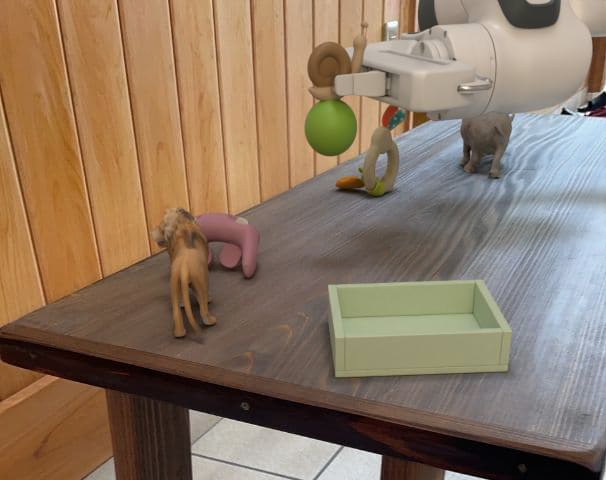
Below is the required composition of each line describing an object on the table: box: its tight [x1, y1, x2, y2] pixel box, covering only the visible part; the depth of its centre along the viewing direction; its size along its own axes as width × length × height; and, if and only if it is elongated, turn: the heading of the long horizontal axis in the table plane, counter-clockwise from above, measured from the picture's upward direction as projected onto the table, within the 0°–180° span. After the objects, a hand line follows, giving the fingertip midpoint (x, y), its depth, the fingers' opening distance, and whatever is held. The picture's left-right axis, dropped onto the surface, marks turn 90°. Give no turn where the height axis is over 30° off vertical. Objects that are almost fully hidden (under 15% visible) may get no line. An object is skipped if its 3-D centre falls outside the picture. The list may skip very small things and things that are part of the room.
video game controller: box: [168, 212, 261, 279], centre depth 94 cm, size 10×5×7 cm, turn 80°
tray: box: [327, 279, 513, 378], centre depth 76 cm, size 15×13×4 cm
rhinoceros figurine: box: [459, 112, 516, 179], centre depth 128 cm, size 8×14×15 cm
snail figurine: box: [304, 20, 369, 157], centre depth 86 cm, size 5×6×12 cm
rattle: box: [335, 104, 408, 197], centre depth 118 cm, size 8×8×12 cm
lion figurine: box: [149, 206, 217, 339], centre depth 82 cm, size 15×5×9 cm, turn 15°
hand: (327, 83), depth 85 cm, fingers closed on snail figurine
